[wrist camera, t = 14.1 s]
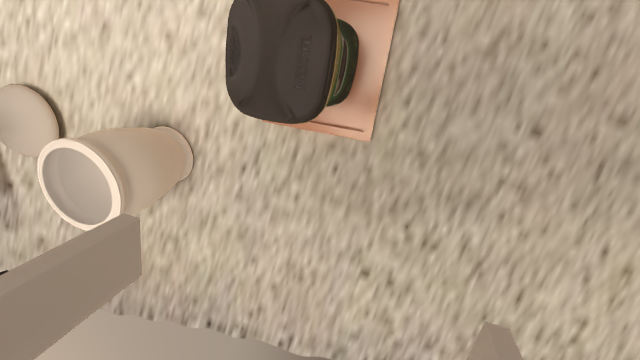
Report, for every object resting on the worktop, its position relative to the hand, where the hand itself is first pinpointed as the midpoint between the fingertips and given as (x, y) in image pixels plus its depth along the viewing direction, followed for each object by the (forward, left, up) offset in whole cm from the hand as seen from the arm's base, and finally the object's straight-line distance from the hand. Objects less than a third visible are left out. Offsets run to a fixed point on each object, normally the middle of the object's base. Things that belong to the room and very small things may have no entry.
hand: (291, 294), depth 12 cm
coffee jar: (+6, -8, -30) cm, 32 cm away
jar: (+28, +8, -31) cm, 42 cm away
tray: (+6, -8, -31) cm, 32 cm away
